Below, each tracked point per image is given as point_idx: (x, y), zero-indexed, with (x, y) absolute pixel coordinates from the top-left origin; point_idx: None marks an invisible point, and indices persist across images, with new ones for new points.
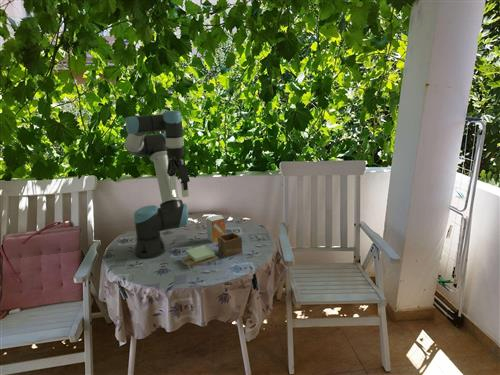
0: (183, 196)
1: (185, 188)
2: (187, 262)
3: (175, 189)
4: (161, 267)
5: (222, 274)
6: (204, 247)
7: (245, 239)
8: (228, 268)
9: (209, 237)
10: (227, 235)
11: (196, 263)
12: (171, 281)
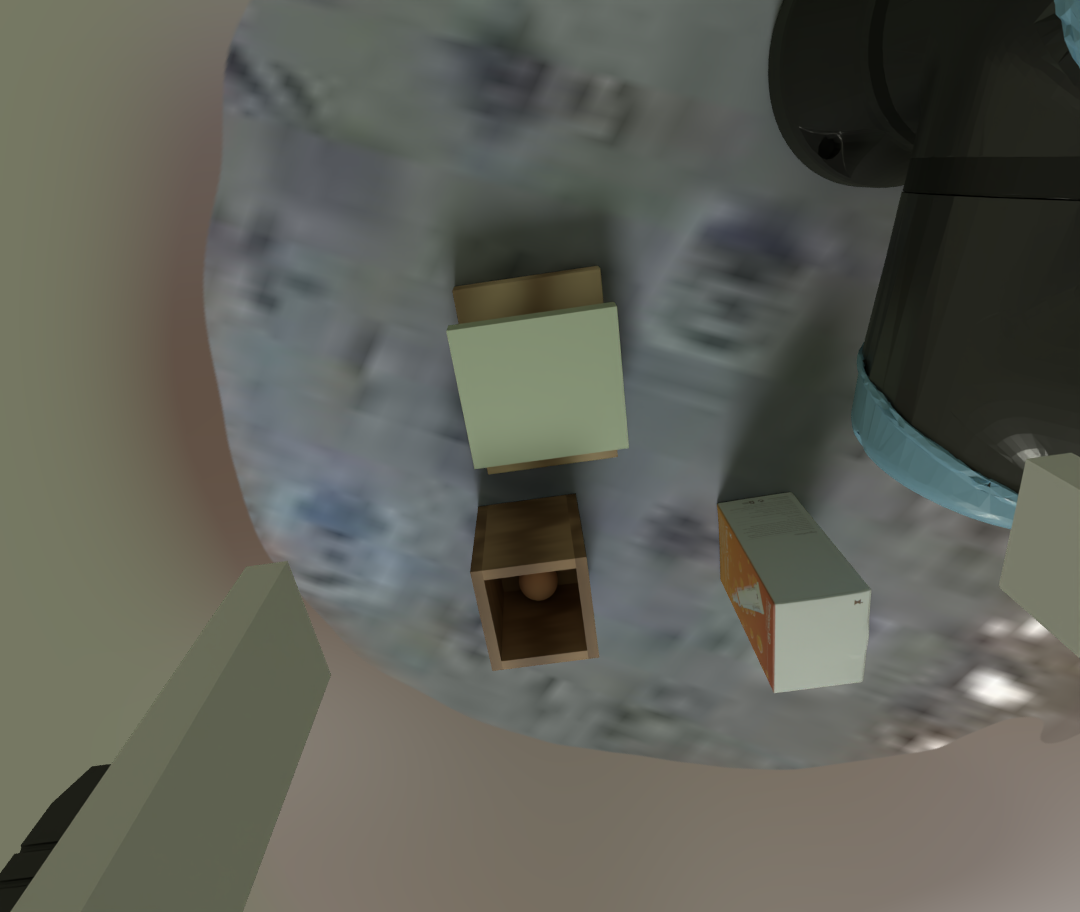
0: (244, 593)
1: (55, 843)
2: (520, 279)
3: (1006, 560)
4: (568, 79)
5: (303, 430)
6: (590, 437)
7: (665, 664)
8: (362, 481)
9: (771, 511)
10: (582, 613)
11: None
12: (323, 101)
